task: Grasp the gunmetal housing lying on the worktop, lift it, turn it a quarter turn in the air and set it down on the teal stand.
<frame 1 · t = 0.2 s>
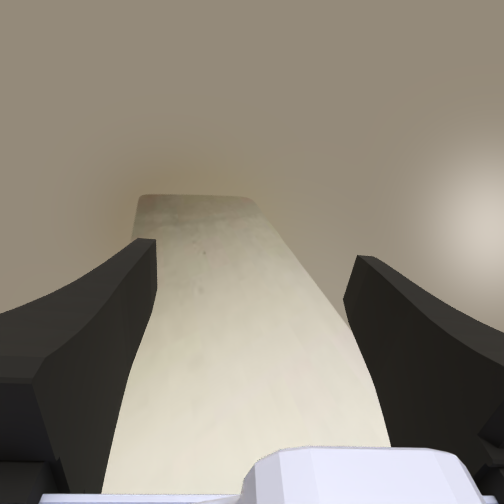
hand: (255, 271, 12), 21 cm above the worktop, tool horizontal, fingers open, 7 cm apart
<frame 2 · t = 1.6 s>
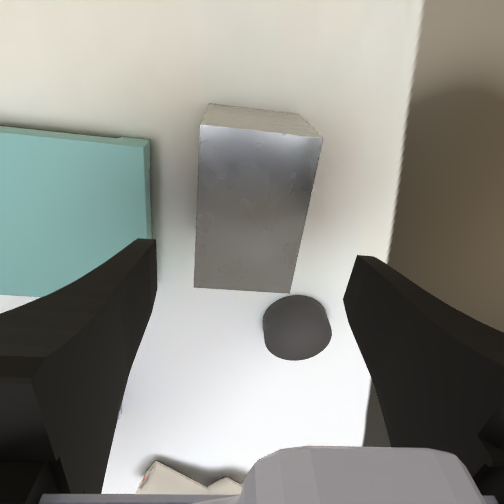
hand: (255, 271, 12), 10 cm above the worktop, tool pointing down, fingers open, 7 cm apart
dark gray disc: (294, 318, 27), on the worktop
stand: (73, 209, 21), on the worktop
housing: (246, 178, 21), on the worktop
spotlight: (198, 474, 38), on the worktop
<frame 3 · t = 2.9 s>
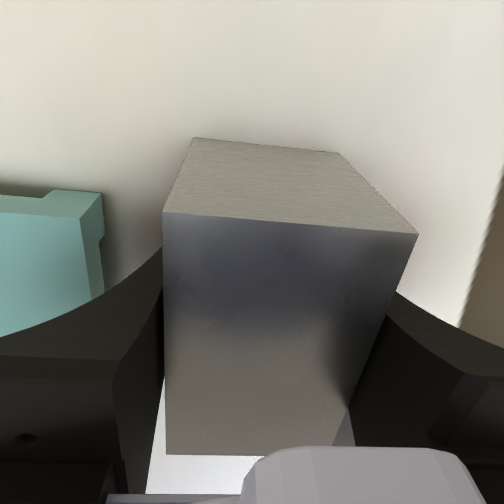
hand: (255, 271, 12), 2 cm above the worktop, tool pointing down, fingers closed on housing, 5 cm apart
dark gray disc: (315, 415, 20), on the worktop
housing: (253, 246, 14), on the worktop, touching gripper
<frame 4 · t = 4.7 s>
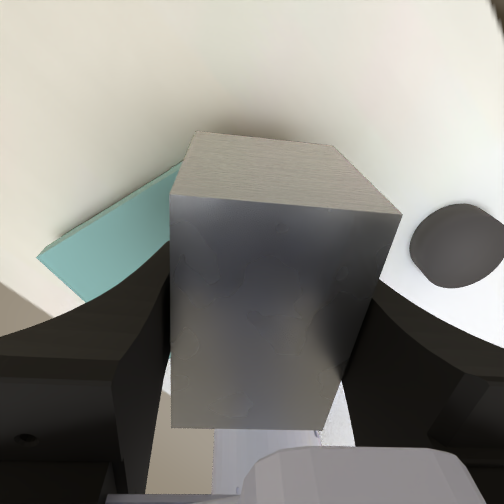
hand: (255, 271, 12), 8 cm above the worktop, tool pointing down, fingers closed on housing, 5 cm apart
dark gray disc: (447, 238, 22), on the worktop
stand: (176, 258, 22), on the worktop
housing: (252, 235, 14), point 6 cm above the worktop, touching gripper
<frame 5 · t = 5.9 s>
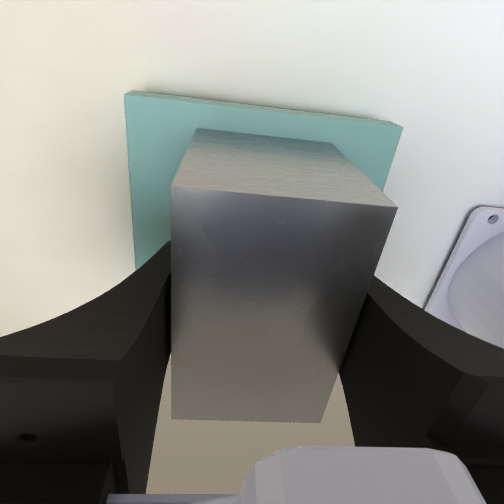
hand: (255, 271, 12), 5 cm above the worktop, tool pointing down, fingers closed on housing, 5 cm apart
stand: (250, 211, 17), on the worktop
housing: (252, 232, 15), point 2 cm above the worktop, touching gripper, stand
when the fingers open (5 cm above the worktop, at t = 6.7 s): housing stays where it is, resting on stand.
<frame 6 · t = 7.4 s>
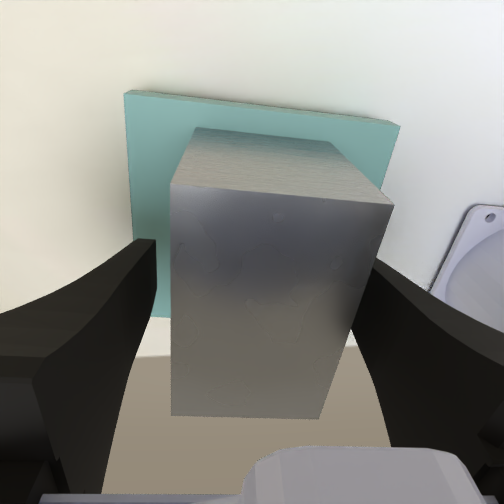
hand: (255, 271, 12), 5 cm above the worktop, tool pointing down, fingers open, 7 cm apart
stand: (249, 210, 17), on the worktop
housing: (251, 230, 15), point 2 cm above the worktop, touching stand
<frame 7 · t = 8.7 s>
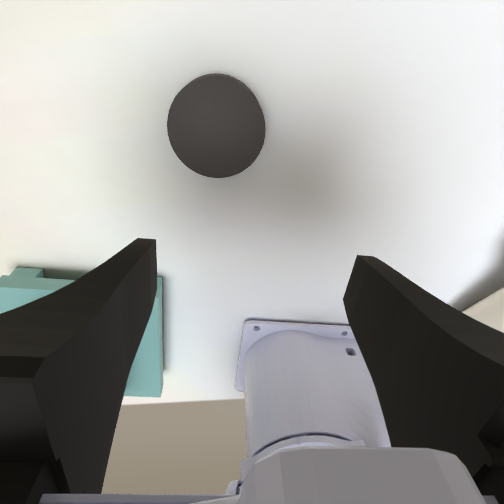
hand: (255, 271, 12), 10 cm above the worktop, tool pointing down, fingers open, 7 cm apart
dark gray disc: (218, 123, 19), on the worktop
stand: (98, 324, 26), on the worktop
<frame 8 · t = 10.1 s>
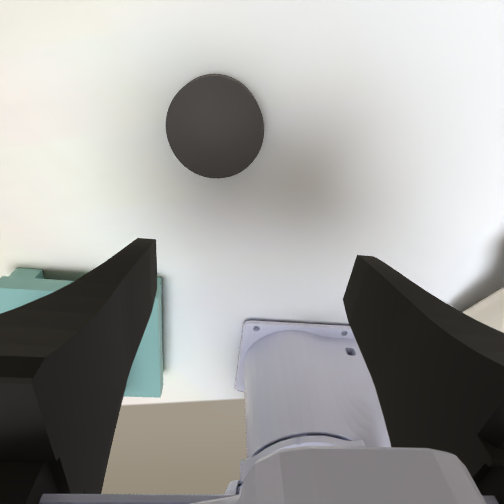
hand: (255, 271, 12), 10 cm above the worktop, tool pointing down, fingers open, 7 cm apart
dark gray disc: (216, 123, 19), on the worktop
stand: (98, 324, 26), on the worktop
spotlight: (499, 280, 26), on the worktop
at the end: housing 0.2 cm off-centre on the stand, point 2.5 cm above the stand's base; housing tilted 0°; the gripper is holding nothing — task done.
